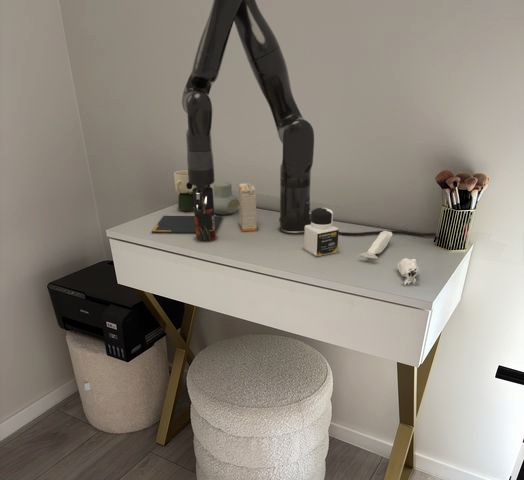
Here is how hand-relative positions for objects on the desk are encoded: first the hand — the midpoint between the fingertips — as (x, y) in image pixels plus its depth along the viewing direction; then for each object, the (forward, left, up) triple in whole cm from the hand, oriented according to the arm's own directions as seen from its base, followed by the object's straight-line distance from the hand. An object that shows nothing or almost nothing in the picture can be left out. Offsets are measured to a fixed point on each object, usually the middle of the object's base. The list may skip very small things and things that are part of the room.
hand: (204, 221), depth 161 cm
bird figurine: (-57, +26, -6) cm, 63 cm away
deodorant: (0, 0, -6) cm, 6 cm away
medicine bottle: (-35, +9, -6) cm, 37 cm away
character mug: (+11, -28, -6) cm, 31 cm away
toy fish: (-51, +10, -6) cm, 53 cm away
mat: (+8, -12, -5) cm, 15 cm away
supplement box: (-12, -11, -6) cm, 17 cm away
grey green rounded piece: (-2, -26, -6) cm, 27 cm away
